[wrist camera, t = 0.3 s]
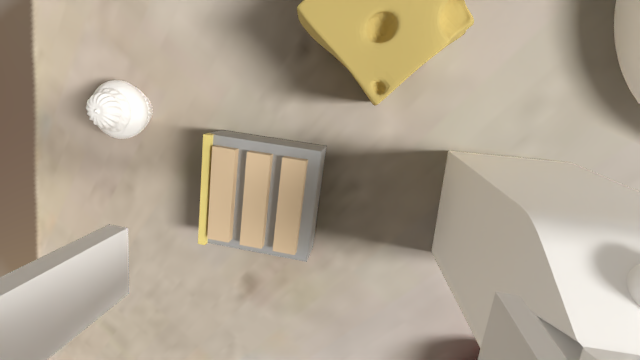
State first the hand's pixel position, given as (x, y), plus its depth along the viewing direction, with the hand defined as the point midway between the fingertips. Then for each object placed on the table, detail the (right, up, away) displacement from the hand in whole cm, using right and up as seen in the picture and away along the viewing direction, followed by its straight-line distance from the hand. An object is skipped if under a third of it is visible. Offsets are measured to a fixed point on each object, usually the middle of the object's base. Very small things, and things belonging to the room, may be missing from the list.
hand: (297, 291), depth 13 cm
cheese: (+7, +19, +23) cm, 31 cm away
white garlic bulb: (-20, +12, +29) cm, 37 cm away
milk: (+20, +1, +25) cm, 32 cm away
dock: (-5, +3, +28) cm, 29 cm away
